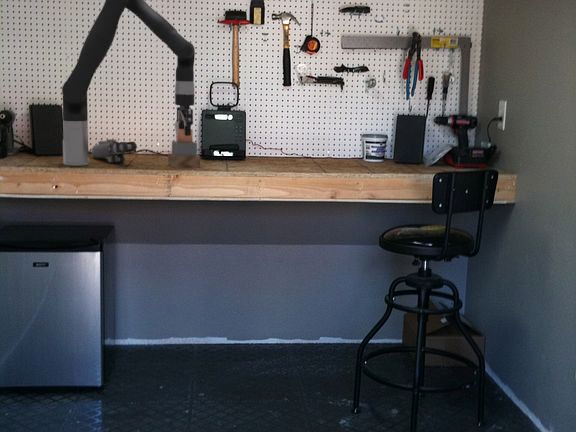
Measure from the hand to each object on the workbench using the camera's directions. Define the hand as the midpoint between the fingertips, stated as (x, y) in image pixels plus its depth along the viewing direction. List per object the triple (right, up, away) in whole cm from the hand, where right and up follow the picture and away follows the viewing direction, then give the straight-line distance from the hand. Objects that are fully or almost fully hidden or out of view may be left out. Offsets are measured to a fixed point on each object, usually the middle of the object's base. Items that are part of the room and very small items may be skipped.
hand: (184, 134), depth 301 cm
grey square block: (0, -8, +1) cm, 8 cm away
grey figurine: (-4, -8, +25) cm, 27 cm away
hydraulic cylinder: (-31, -10, +10) cm, 34 cm away
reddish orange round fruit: (0, -3, 0) cm, 3 cm away
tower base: (-1, -13, +2) cm, 13 cm away
